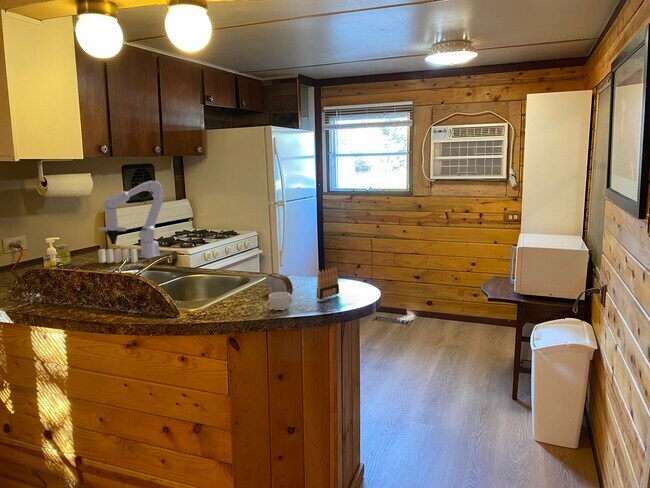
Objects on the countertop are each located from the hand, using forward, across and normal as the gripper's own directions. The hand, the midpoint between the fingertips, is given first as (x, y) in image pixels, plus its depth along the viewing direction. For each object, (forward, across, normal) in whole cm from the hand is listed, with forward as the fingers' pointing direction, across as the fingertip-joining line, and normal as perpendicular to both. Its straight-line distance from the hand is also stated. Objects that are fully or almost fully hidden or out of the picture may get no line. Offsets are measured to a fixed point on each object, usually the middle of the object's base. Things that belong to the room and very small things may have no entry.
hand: (113, 244), depth 272 cm
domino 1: (+10, -6, -3) cm, 12 cm away
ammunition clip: (+10, +122, -82) cm, 147 cm away
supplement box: (+10, -24, -10) cm, 28 cm away
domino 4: (+10, +8, -3) cm, 13 cm away
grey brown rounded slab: (+10, +102, -76) cm, 128 cm away
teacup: (+10, +105, -96) cm, 142 cm away
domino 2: (+10, -1, -3) cm, 10 cm away
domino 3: (+10, +3, -3) cm, 11 cm away
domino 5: (+10, +12, -3) cm, 16 cm away
